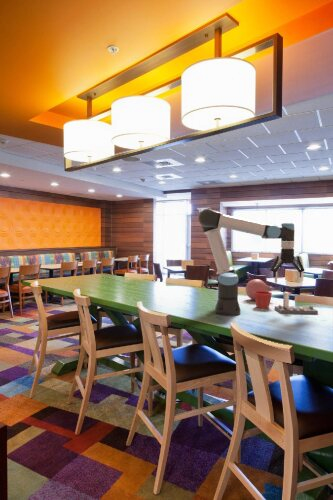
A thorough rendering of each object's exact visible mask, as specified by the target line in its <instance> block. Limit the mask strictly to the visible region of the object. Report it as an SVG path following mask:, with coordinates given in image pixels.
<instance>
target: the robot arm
mask: <svg viewBox="0 0 333 500" xmlns="http://www.w3.org/2000/svg"><path fill="white" fill-rule="evenodd" d="M197 219H198V223H199V224H200V226H201V230H202V231H203V234H204V235H206V238H207V239H208V244H209V247H210V250H211V253H212V256H213V259H214V260H213V261H214V263H215V266H216V269H217V271H216V278H217V281H218V282H217V301H216V304H215V307H214V313H215V314H217V315H222V316H238V315H240V314H241V307H240V305H239V300H238V298H239V276H238V274H236V271H235V268H233V267H231V263H230V260H229V255H228V254H227V250H226V247H225V244H224V241H223V238H222V234H221V232H220V231H221V229H228V230H233V231H236V232H241V233H246V234H250V235H255V236H261V239H265V240H267V239H276V240H277V239H280V240H281V242H280V243H281V244H280V248H281V249H280V256H278V255H276V256H275V258H274V261H273V263H272V265H271V267H270V268H269V269H270V270H269V271H270V272H273V273H272V277H273V278H274V283H275V284H277V283H278V272H277V271H278V270H279V269H280V268H281V267H282V265H284V264H289V265H290V264H291V265H292V266H293V267H294V268H295V270H296V271H297V272H296V283H297V284H300V282H301V281H300V279H301V278H302V273H303V272H305V268H304V266H303V264H302V262H301V260H300V259H301V258H300V256H299V255H296V256H295V249H294V248H295V224H294V223H292V222H282V223H281V224H280V225H279V226H278V225H275V224H269V223H268V224H267V223H264V222H260V221H254V220H250V219H245V218H241V217H235V216H232V215H226V214H223V212H220V211H217V210H214V209H212V208H205V209H203V210H201V211H200V212H199V214H198V218H197ZM279 260H281V261H280V262H279ZM294 260H296V262H295V261H294ZM278 262H279V263H278ZM296 263H297V264H296Z"/></svg>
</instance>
